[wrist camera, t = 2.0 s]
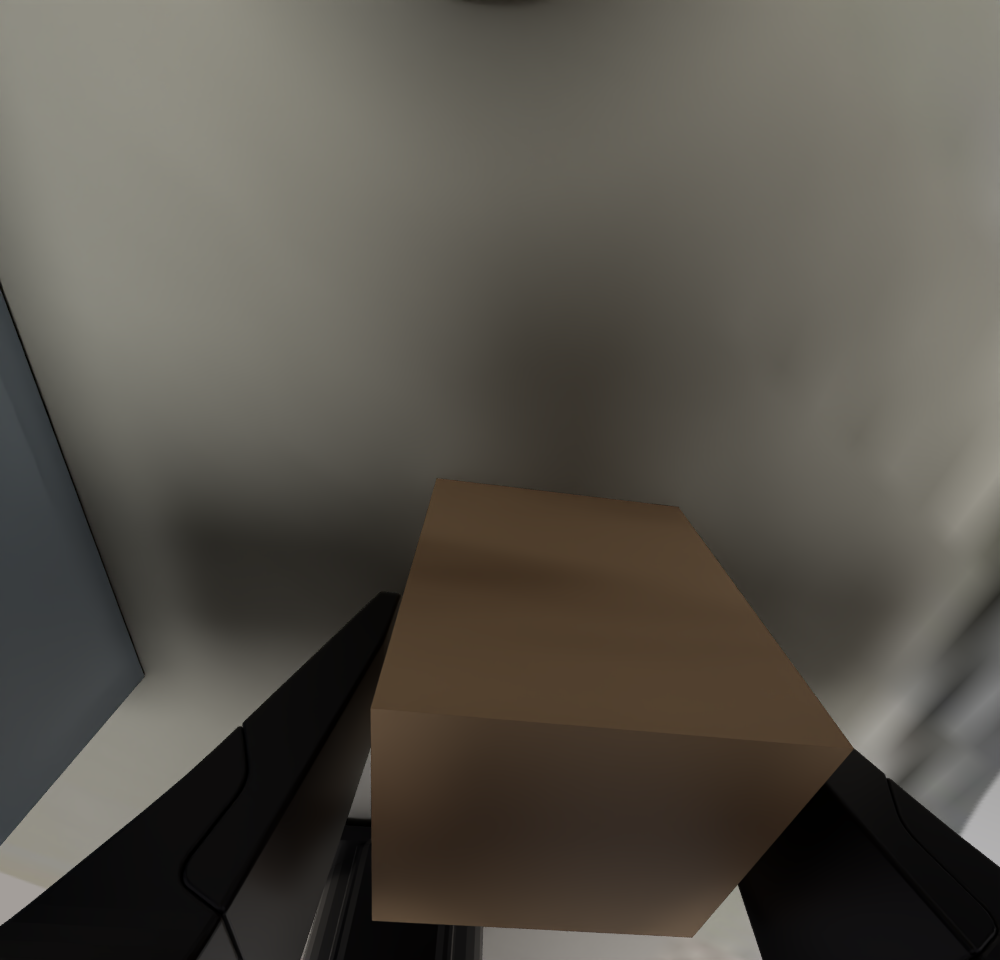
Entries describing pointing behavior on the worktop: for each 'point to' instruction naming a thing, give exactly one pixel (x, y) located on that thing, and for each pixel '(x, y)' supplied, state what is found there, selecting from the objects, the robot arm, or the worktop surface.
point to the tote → (48, 603)
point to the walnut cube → (579, 722)
